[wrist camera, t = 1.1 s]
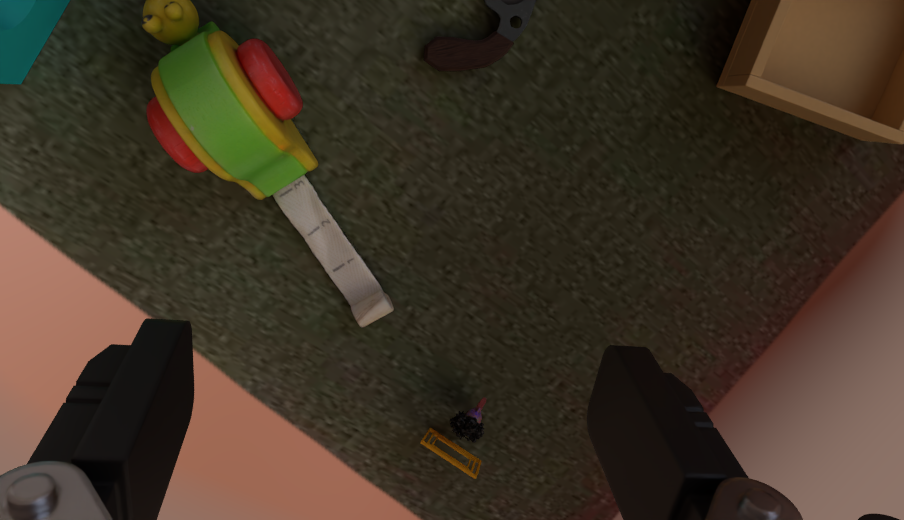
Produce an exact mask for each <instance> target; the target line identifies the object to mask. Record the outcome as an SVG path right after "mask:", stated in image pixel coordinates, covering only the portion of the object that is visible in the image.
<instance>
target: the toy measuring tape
mask: <svg viewBox="0 0 904 520" xmlns="http://www.w3.org/2000/svg"><path fill="white" fill-rule="evenodd" d="M142 26H143V28H144V29H145V30H146V31H147V32H148V33H151V34H152V35H153V36H154V37H155V38H156V39H158V40H159V41H161V42H163V43H166V44H170V45H173V46H172V47H171V52H170V53H169V54H167V55H166V56H164V57H163V58H162V59H160V60H159V63H158V66H157V67H156V68H155V69H154V70H153V71H152V74H151V83H152V87H153V90H154V92H155V95H156V96H155V97H154V98H153V99H151V101H150V102H149V103H148V105H147V119H148V122H149V125H150V127H151V130H152V131H153V133H154V135H155V136H156V138H157V140H158V141H159V143H160V144H161V145H162V147H163V148H164V149H165V151H166V152H167V153H168V154H169V155H170V156H171V157H172V158H173V159H174V161H175V162H177V163H178V164H179V165H180V166H181V167H183V168H184V169H186V170H188V171H191V172H194V173H200V172H204V171H206V170H208V169H209V170H210V171H212V172H213V173H214V174H216V175H217V176H219V177H220V178H222V179H224V180H227V181H234V182H236V183H238V184H240V185H241V186H242V187H244V188H245V189H246V190H247V191H248V192H249V193H250V194H251V195H252V196H254V197H255V198H256V199H258V200H262V199H264V198H265V197H269V196H271V195H273V197H274V199H275V200H276V202H277V204H278V205H279V207H280V208H281V210H282V211H283V213H284V214H285V215H286V217H287V218H288V219H289V220H290V221H291V223H292V225H293V226H294V227H295V228H296V229H297V230H298V232H299V233H300V234H301V235H302V237H304V239H305V241H306V243H307V244H308V245H309V247H310V249H311V251H312V253H313V254H314V255H315V257H316V258H317V259H318V260H319V262H320V263H321V264H322V266H323V267H324V269H325V271H326V273H327V274H328V275H329V277H330V278H331V279H332V281H333V282H334V283H335V285H336V286H337V287H338V289H339V290H340V291H341V292H342V293H343V295H344V297H345V299H346V300H347V301H348V303H349V304H350V306H351V311H352V313H353V316H354V317H355V319H356V321H357V322H358V324H359V325H360V326H361V327H365V326H367V325H368V324H370V323H372V322H374V321H375V320H377V319H379V318H381V317H383V316H385V315H386V314H388V313H390V312H392V311H393V310H394V308H393V305H392V302H391V300H390V298H389V296H388V294H386V293H384V292H383V290H382V288H381V286H380V284H379V283H378V281H377V280H376V278H375V277H374V276H373V274H372V273H371V271H370V270H369V269H368V267H367V266H366V264H365V262H364V261H363V260H362V258H361V257H360V256H359V255H358V254H357V252H356V251H355V249H354V247H353V246H352V245H351V243H350V242H349V241H348V239H347V238H346V237H345V235H344V234H343V232H342V230H341V229H340V227H339V226H338V224H337V222H336V221H335V220H334V219H333V217H332V215H331V214H330V213H329V212H328V210H327V208H326V207H325V206H324V205H323V203H322V202H321V200H320V199H319V197H318V195H317V193H316V191H315V190H314V187H313V185H312V184H310V182H309V181H308V179H307V178H306V176H305V175H304V174H306V173H307V172H308V171H312V170H314V169H315V168H316V167H318V162H317V160H316V158H315V157H314V155H313V153H312V152H311V150H310V149H309V147H308V145H307V144H306V142H305V141H304V139H303V138H302V136H301V135H300V133H299V131H298V130H297V128H296V127H295V125H294V124H293V122H292V120H291V119H292V118H293V117H295V116H296V115H297V114H299V112H300V111H301V109H302V107H303V102H302V98H301V96H300V94H299V92H298V90H297V88H296V86H295V84H294V83H293V81H292V79H291V77H290V76H289V74H288V72H287V71H286V69H285V68H284V66H283V65H282V63H281V62H280V61H279V59H278V58H277V57H276V55H275V54H274V52H273V51H272V50H271V49H270V47H269V46H268V45H267V44H266V43H265V42H263V41H262V40H259V39H249V40H247V41H245V42H244V43H242V44H241V45H238V44H237V43H236V42H235V41H234V40H233V39H232V38H231V37H230V36H229V35H227V34H226V33H225V32H223V31H220V29H219V28H218V27H217V25H216V24H215V23H214V22H209V23H207V24H206V25H204V26H203V27H201V28H199V29H198V26H199V16H198V13H197V10H196V8H195V6H194V5H193V3H192V2H191V1H190V0H146V2H145V4H144V7H143V19H142Z"/></svg>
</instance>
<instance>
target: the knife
mask: <svg viewBox="0 0 904 520" xmlns="http://www.w3.org/2000/svg"><path fill="white" fill-rule="evenodd" d="M535 1H536V0H484V2H485V4H486V6H487V7H489V8H490V9H492V10H493V11H494V12H496V13H497V14H498V16H499V18H500V23H499V27H498V29H497V32H496V31H494V32H493V33H492V34H491V35H490V36H488V37H487V38H485V39H482V40H477V41H473V40H466V39H460V38H455V37H437V36H436V37H435V38H434V39H433V40H431V41H430V42H429V43H428V44H427V45H425V48H424V61H425V62H427V63H428V64H429V65H431V66H432V67H434V68H435V69H437V70H438V71H462V70H469V69H477V68H483V67H487V66H489V65H491V64H492V63H494V62H496V61H498V60H499V59H500V58H502V57H503V56H504V55H505V54H506V53H507V52H508V51H509V49H510V48H511V47H512V45H513V44H514V43H513V41H514V40H515V39H517V38H518V36H519V35H520V34H521V33H522V31H523V30H524V29H525V27H526V25H527V23H528V21H529V18H530V16H531V13H532V10H533V7H534V4H535ZM513 16H517V17H519V18H520V20H521V26H520V27H519V28H518V29H514V28H512V27H511V25H510V19H511V18H512V17H513Z"/></svg>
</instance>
